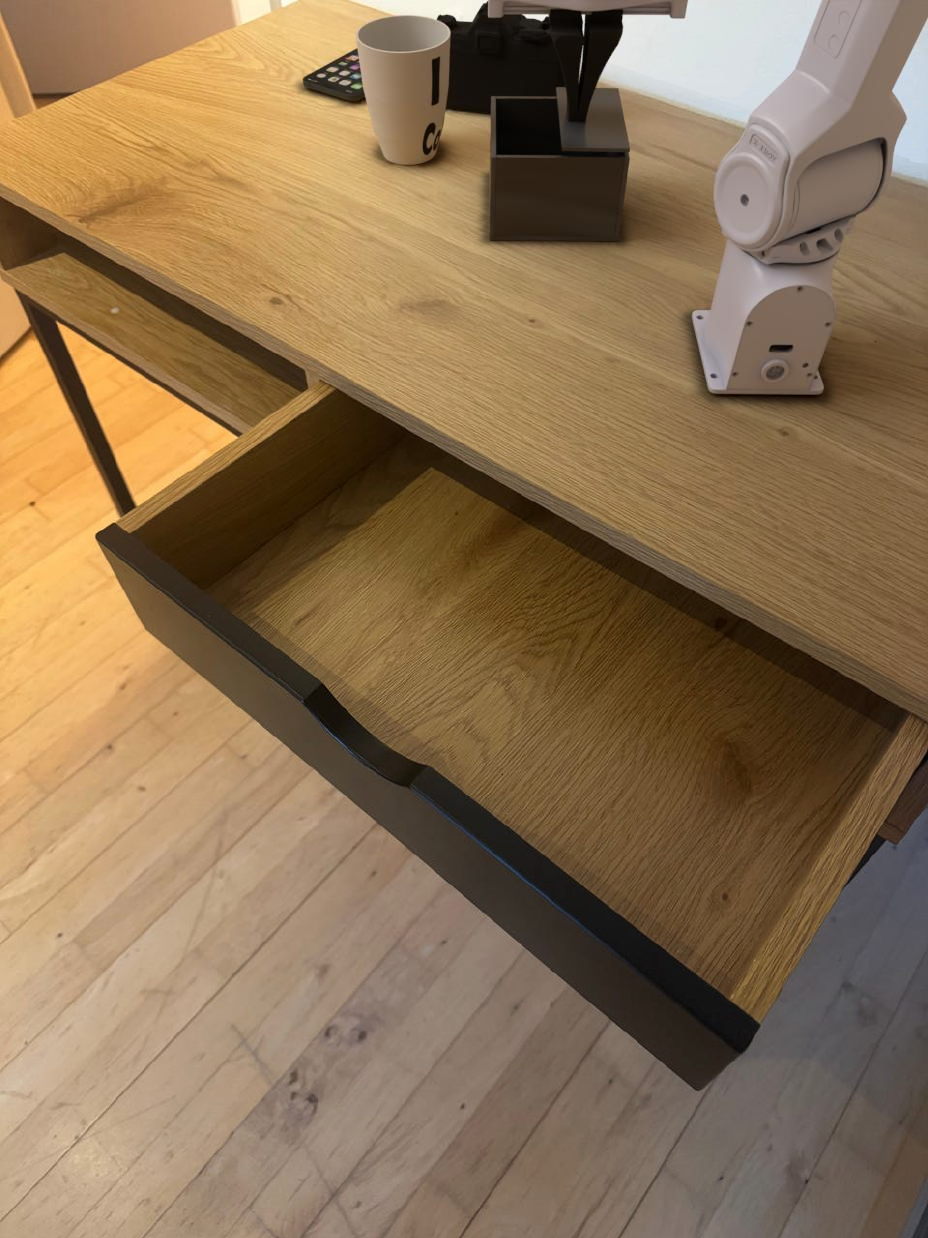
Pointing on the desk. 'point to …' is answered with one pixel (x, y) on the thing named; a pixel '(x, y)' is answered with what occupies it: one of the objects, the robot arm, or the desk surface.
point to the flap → (594, 124)
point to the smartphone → (339, 78)
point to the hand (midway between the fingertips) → (576, 115)
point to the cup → (405, 83)
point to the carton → (549, 178)
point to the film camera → (499, 60)
